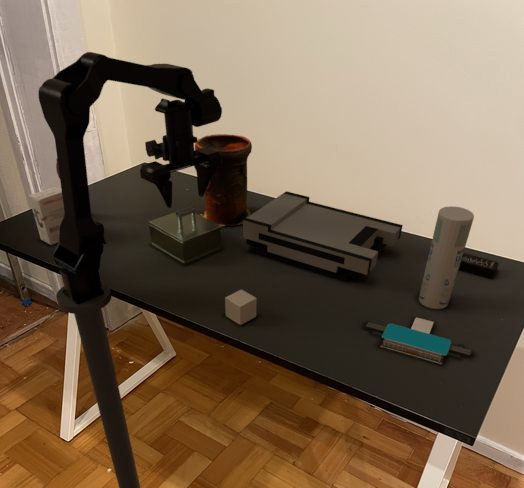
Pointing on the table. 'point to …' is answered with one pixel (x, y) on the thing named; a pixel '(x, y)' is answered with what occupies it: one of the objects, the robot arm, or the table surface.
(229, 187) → the vessel
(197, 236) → the box lid
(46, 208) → the ink box
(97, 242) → the robot arm
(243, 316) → the white block
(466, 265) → the multiport hub
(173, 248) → the storage tray
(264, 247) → the game console
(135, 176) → the table surface
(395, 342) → the teal block with rod
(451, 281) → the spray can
